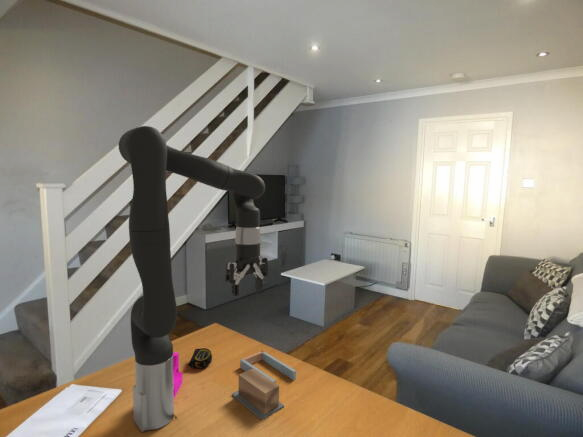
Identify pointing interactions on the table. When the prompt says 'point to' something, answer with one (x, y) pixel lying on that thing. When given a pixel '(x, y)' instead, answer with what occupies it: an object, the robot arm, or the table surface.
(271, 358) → the channel
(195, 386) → the table surface
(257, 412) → the mat
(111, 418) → the table surface
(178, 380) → the toy block
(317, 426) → the table surface
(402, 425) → the table surface
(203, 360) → the tape measure
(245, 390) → the block
